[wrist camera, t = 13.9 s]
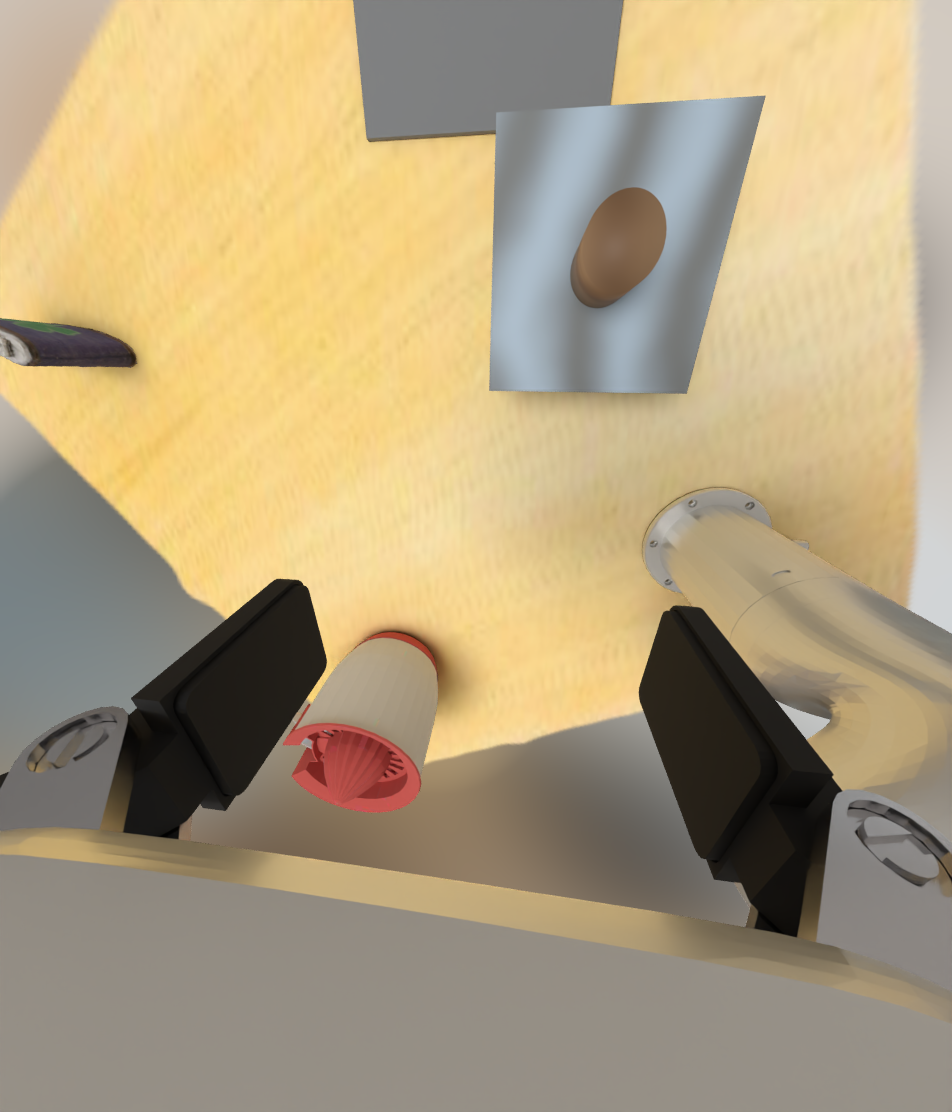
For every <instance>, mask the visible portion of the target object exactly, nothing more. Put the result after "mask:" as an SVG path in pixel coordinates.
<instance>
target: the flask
mask: <svg viewBox="0 0 952 1112" xmlns="http://www.w3.org/2000/svg"><path fill="white" fill-rule="evenodd" d="M0 356H3V357H5V358H6V359H9V360H10V361H12V362H13V363H17V364H19V365H23V366H80V367H97V366H101V367H129V368H131V367H133V366H134V365H135V364H137V362H136V356H135V353H134V352H133V350H132V348H131V347H129V346H128V345H127V344H126V343H124V342H123V341H121V340H119V339H117V338H114V337H112V336H110V335H108V334H104V333H103V332H100V331H95V330H93V329H85V328H81V327H76V326H70V325H61V324H49V323H40V322H30V321H21V320H13V319H2V318H0Z"/></svg>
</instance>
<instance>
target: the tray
mask: <svg viewBox="0 0 952 1112" xmlns="http://www.w3.org/2000/svg"><path fill="white" fill-rule="evenodd" d="M353 2H354V13H355V23H356V33H357V43H358V54H359V64H360V74H361V84H362V95H363V105H364V115H365V125H366V136H367V140H368V141H385V140H401V139H417V138H432V137H448V136H464V135H480V134H495V133H496V113H497V112H513V111H529V110H545V109H561V108H577V107H593V106H609V105H610V101H611V93H612V85H613V77H614V69H615V61H616V53H617V45H618V37H619V29H620V21H621V13H622V5H623V0H353Z"/></svg>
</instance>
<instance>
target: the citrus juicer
mask: <svg viewBox="0 0 952 1112" xmlns="http://www.w3.org/2000/svg"><path fill="white" fill-rule="evenodd" d="M437 682H438V673H437V668H436V664H435V661H434V658H433V656H432V654H431V652H430V651H429V650H428V649H427V648H426V646H425V645H423V644H422V643H421V642H420V641H418V640H416V639H414V638H413V637H410V636H408V635H405V634H401V633H395V632H385V633H380V634H376V635H374V636H372V637H370V638H368V639H367V640H365V641H363V642H362V643H360V644H359V645H358V646H357V647H356V648H355V649H354V650H353V651H352V652H351V653H349V654H348V655H347V656H346V657H345V658H344V659H343V660H342V661H341V662H340V663H339V664H338V665H337V667H336V668H335V669H334V671H333V672H332V673H331V675H330V676H329V678H328V679H327V681H326V682H325V684H324V685H323V687H322V688H321V690H320V692H319V693H318V695H317V696H316V698H315V699H314V701H313V703H312V704H311V705H310V704H308V706H307V707H306V709H305V711H304V712H303V713H300V712H297V713H296V715H295V716H294V718H293V719H292V720H293V721H294V722H295V726H294V727H293V729H292V731H291V732H290V734H289V735H288V736H287V738H286V740H285V741H284V743H283V745H300V744H303V745H304V746H306V747H307V748H306V750H305V752H304V754H303V756H302V757H301V759H300V761H299V763H298V765H297V767H296V769H295V771H294V772H293V774H292V777H293V778H294V779H295V780H296V782H297V783H298V784H299V785H300V786H302V787H303V788H304V789H306V790H307V791H308V792H310V793H311V794H313V795H315V796H316V797H318V798H320V799H322V800H324V801H327V802H329V803H331V804H334V805H337V806H340V807H343V808H347V809H351V810H355V811H363V812H387V811H393V810H396V809H400V808H402V807H404V806H406V805H408V804H409V803H410V802H411V801H413V800H414V799H415V797H416V796H417V794H418V793H419V791H420V787H421V779H420V777H421V773H422V768H423V765H424V761H425V757H426V753H427V749H428V745H429V741H430V737H431V733H432V729H433V725H434V720H435V715H436V709H437V704H438V683H437Z"/></svg>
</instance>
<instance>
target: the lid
mask: <svg viewBox="0 0 952 1112" xmlns="http://www.w3.org/2000/svg"><path fill="white" fill-rule="evenodd" d="M764 100H765V96H753V97H737V98H721V99H705V100H689V101H673V102H657V103H641V104H625V105H609V106H593V107H577V108H561V109H545V110H529V111H513V112H497V113H496V147H495V187H494V227H493V267H492V307H491V346H490V386H489V391H544V392H613V393H681V394H687V390H688V386H689V383H690V379H691V375H692V371H693V368H694V364H695V360H696V356H697V352H698V349H699V345H700V341H701V337H702V334H703V330H704V326H705V322H706V319H707V315H708V311H709V307H710V303H711V300H712V296H713V292H714V288H715V285H716V281H717V277H718V273H719V270H720V266H721V262H722V258H723V254H724V251H725V247H726V243H727V239H728V236H729V232H730V228H731V224H732V220H733V217H734V213H735V209H736V205H737V202H738V198H739V194H740V190H741V187H742V183H743V179H744V175H745V171H746V168H747V164H748V160H749V156H750V153H751V149H752V145H753V141H754V137H755V134H756V130H757V126H758V122H759V119H760V115H761V111H762V107H763V104H764Z"/></svg>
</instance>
